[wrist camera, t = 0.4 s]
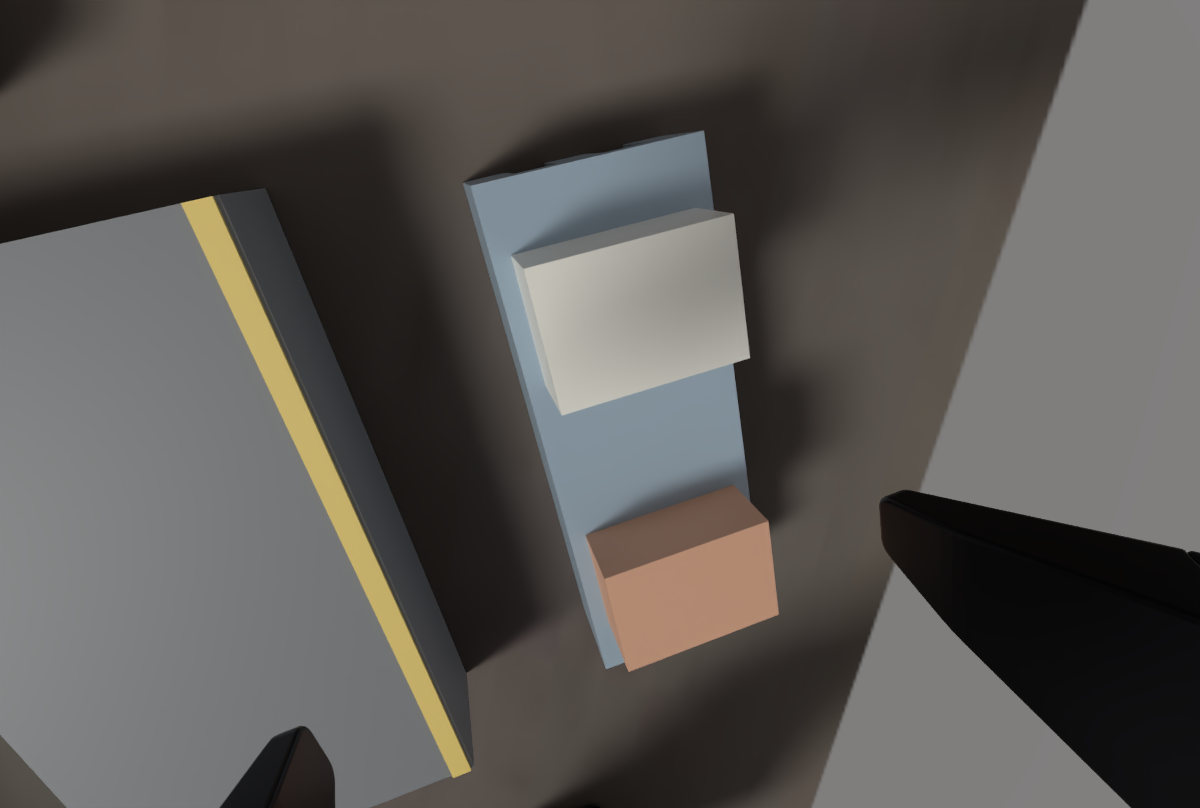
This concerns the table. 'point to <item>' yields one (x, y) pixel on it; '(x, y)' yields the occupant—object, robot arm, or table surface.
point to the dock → (201, 526)
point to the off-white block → (635, 306)
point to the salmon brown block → (685, 575)
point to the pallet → (628, 424)
